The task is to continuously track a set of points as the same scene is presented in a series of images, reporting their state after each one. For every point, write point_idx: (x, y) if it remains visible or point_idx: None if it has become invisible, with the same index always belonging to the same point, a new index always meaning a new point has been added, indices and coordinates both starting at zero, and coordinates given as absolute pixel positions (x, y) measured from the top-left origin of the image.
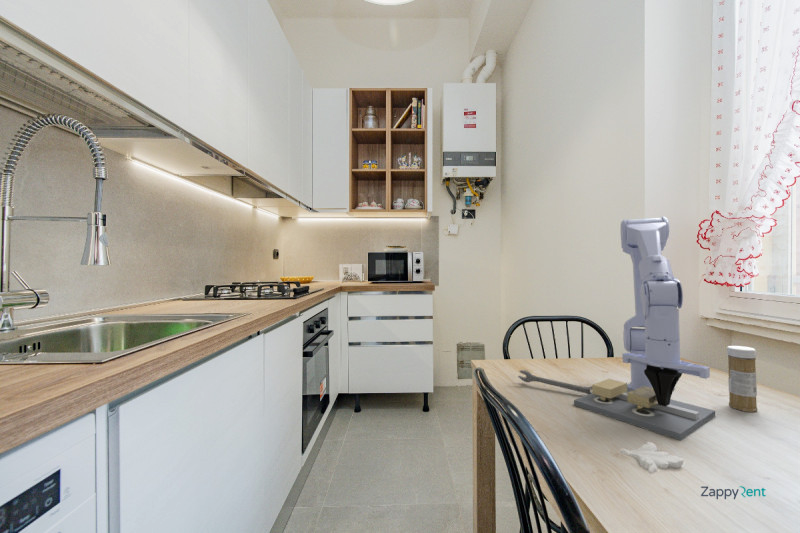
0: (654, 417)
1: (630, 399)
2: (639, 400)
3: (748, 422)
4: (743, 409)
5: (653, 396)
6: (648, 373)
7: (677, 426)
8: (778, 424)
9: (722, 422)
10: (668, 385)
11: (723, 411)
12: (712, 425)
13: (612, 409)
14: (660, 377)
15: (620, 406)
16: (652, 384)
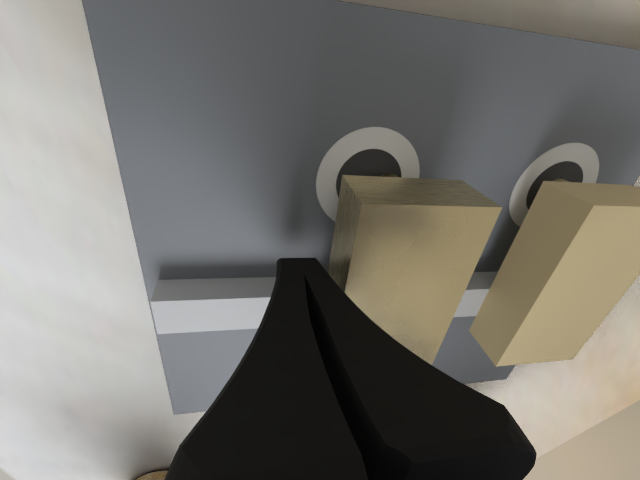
0: (304, 152)
1: (458, 188)
2: (410, 191)
3: (91, 420)
4: (149, 477)
5: (348, 272)
6: (473, 422)
7: (161, 105)
8: (38, 461)
9: (135, 366)
10: (243, 366)
11: None
12: (137, 318)
13: (512, 83)
14: (325, 422)
15: (474, 173)
16: (381, 337)
